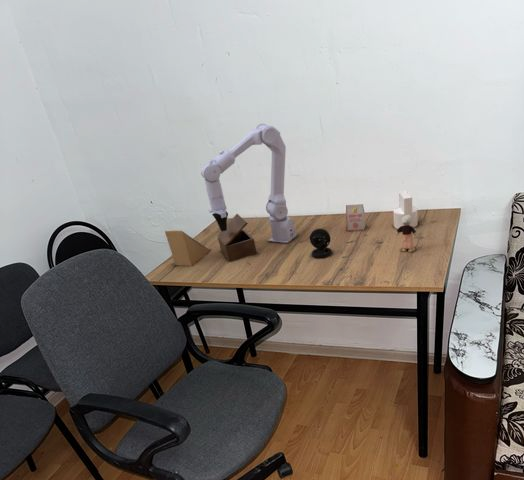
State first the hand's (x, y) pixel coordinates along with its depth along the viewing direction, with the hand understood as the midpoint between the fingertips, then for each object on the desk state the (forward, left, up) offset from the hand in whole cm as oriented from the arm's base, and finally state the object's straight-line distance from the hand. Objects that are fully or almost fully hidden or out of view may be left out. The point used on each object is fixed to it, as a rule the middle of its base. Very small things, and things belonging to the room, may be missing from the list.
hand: (223, 230), depth 188 cm
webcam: (-39, -9, -10) cm, 41 cm away
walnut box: (-3, -3, -10) cm, 11 cm away
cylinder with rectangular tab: (-59, -41, -10) cm, 72 cm away
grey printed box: (-41, -34, -10) cm, 54 cm away
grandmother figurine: (-68, -19, -10) cm, 71 cm away
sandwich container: (+15, +6, -10) cm, 19 cm away
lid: (-2, -2, -1) cm, 3 cm away
